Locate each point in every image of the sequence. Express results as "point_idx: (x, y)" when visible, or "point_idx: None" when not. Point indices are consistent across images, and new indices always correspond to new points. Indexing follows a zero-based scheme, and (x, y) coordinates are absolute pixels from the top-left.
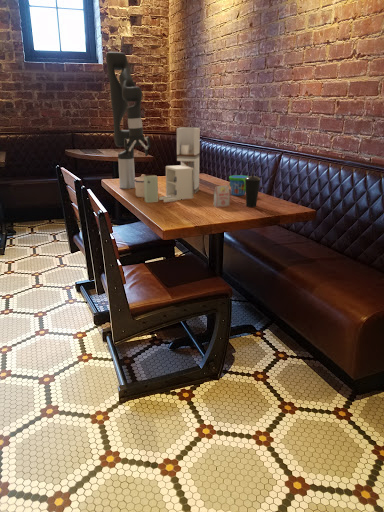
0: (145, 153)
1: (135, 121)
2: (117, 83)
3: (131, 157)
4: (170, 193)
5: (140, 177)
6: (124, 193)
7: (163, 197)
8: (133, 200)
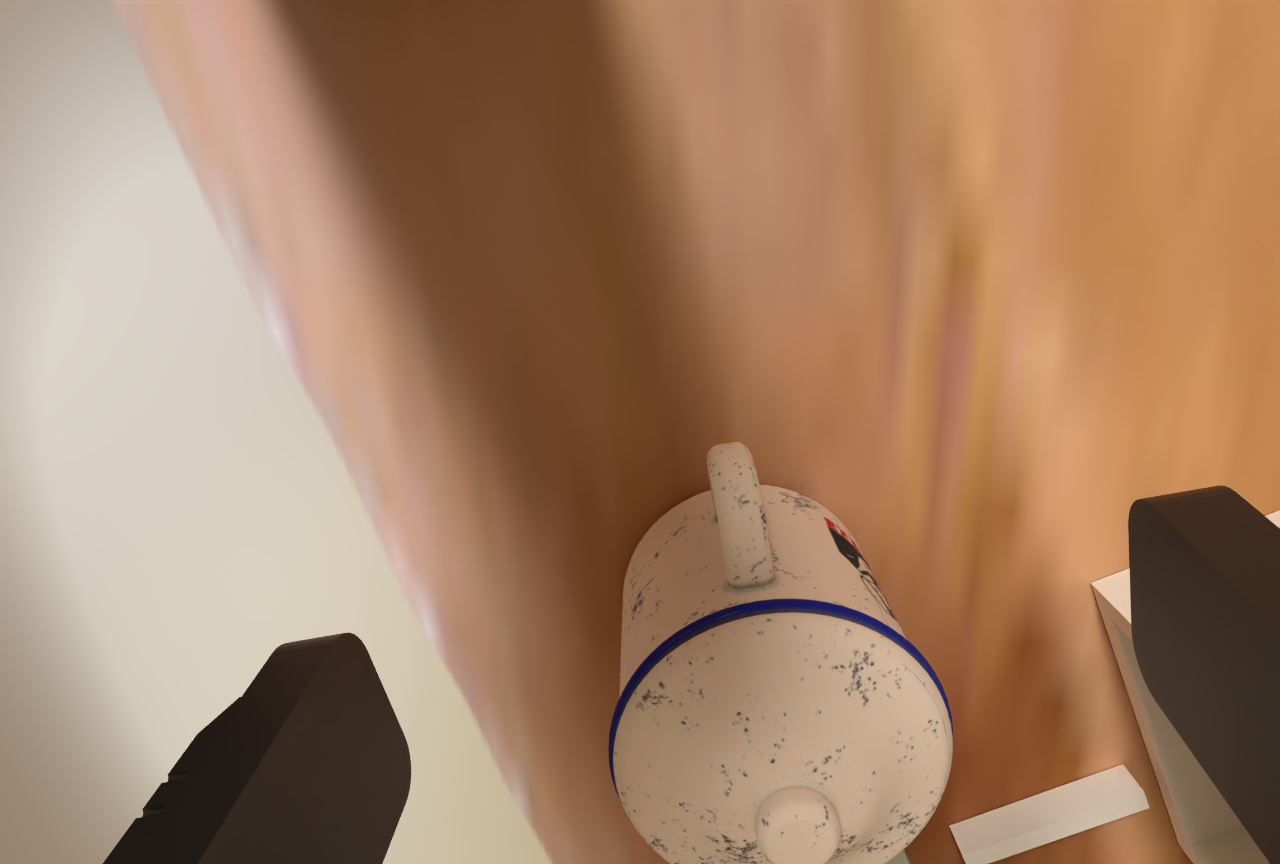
0: (1218, 728)
1: None
2: None
3: (386, 798)
4: None
5: (735, 854)
6: (411, 410)
7: (1024, 844)
8: (615, 845)
